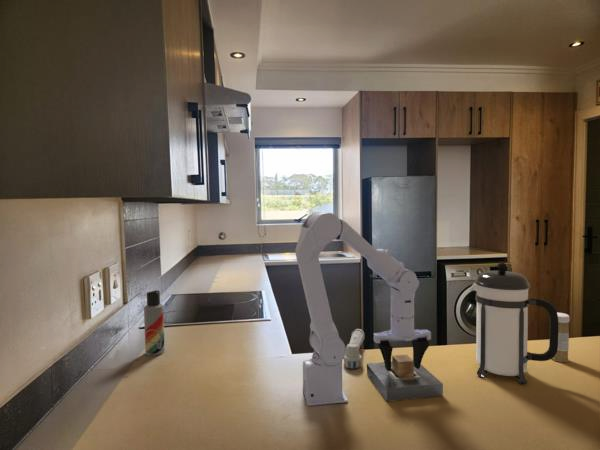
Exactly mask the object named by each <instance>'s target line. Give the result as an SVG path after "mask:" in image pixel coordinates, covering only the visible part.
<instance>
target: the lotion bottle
mask: <svg viewBox="0 0 600 450" xmlns="http://www.w3.org/2000/svg"><path fill="white" fill-rule="evenodd" d="M160 293H161V292H160V290H158V289H156V290H151V291H147V292H146V305H144V307H143V318H144V320H143V321H144V348H145V350H144V351H145V355H146V356H148V357H152V356H158V355H162V354H164V353H165V350H166V349H165V321H164V320H165V319H164V304H163V303H161V297H160V295H161V294H160Z"/></svg>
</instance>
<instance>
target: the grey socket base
mask: <svg viewBox="0 0 600 450" xmlns="http://www.w3.org/2000/svg"><path fill="white" fill-rule="evenodd" d="M366 375H367V376H368V378H369V380H370V381H371V383H372V384H375V385H374V386H375V388H376V389H377V388H378V389H377V390H378V392H379V391H380V392H381V393H380V392H379V393H380V394H381V396H382V395H383V396H382V397H383V398H384V399H386V400H385V401H386V402H393V400H397V401H404V399H407V400H414V399H413V398H417V399H424V398H423V397H427V398H434V397H435V398H437V397H443V396H444V389H443V388H444V384H443V382H442V381H441V380H439V379H438V378H437V377H436V376H435V375H434V374H433V373H431V372H430V371H429V370H428V369H427V368H425V366H423V365H422V364H421V365H420V369H417V368H416V367H415V366H414V376H411V377H400V378H397V377H396V376H395V375H394V374H393V373H392V361H391V371H387V369H386V368H385V363H384V361H383V362H373V363H372V362H371V363H370V362H369V363H366Z"/></svg>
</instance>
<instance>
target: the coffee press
mask: <svg viewBox="0 0 600 450" xmlns="http://www.w3.org/2000/svg"><path fill="white" fill-rule="evenodd" d="M496 268H497V269H498V270H486V271H483V272H481V273H479V274H478V276H477V277H476V279H475V280H474V283H473V284H472V285H471V286H470V287H469V290H470V291H475V292H476V293H475V301H476V332H475V333H476V335H475V336H476V341H475V342H476V343H475V344H476V346H475V347H476V348H475V349H476V350H475V353H476V355H475V356H476V363H477V364H478V366H479V368H478V369H477V372H476V375H477V376H479V377H480V378H485V377H486V375H488V373H491V374H495V375H498V376H505V377H514V378H515V379H516V380H517V382H518V384H519V385H520V386H522V385H526V384H528V379H527V377H526V376H525V373H526V372H527V370H528V362H529V361H536V362H547V361H549V360H552V358H553V357H554V356H555V355H556V353H557V349H558V315H557V310H556V308H555V307H554V305H553V304H551V303H550V302H549V301H547V300H544V299H541V298H530V297H529V289H530V288H531V283H530V282H529V281H528V278H527V277H526V276H524V275H522V274H521V273H518V272H516V271H515V272H514V271H508V270H506V269H507V268H508V266H507V264H506V263H505V262H499V263H497V265H496ZM530 305H531V306H536V307H542V308H544V309H545V310H546V311H547V313H548V314H549V343H548V344H549V347H548V349H547V350H546V351H545V352H544V353H536V352H529V351H528V335H529V334H528V330H529V329H528V326H529V325H528V324H529V321H528V320H529V318H528V316H529V306H530Z"/></svg>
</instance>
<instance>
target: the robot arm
mask: <svg viewBox="0 0 600 450" xmlns="http://www.w3.org/2000/svg"><path fill="white" fill-rule="evenodd" d="M300 228H301V229H300V234H299V236H298V240H297V243H296V246H295V252H294V253H295V257H296V261H297V265H298V269H299V270H298V271H299V275H300V278H301V283H302V287H303V291H304V296H305V297H304V298H305V301H306V305H307V309H308V313H309V318H310V324H309V328H310V335H309V345H310V347H311V348H312V349H313V352H312V355H311V358H309V359H307V360H304V361H302V392H303V396H304V398H305V400H306V405H307V406H309V407H310V406H311V407H312V406H320V405H321V406H322V405H328V404H329V405H331V404H339V403H340V404H342V403H347V402H349V401H348V397H347V396H346V393H345V392H344V391H343V361H344V359H343V358H344V356H345V353H346V345H345V343H344V341H343V340H342V339H341V337H340V335H339V331H338V329H337V327H336V324H335V322H334V321H333V317H332V313H331V307H330V302H329V298H328V295H327V289H326V286H325V281H324V276H323V272H322V268H321V263H320V258H319V255H320V254H321V253H322V251H323V250H324V249H325V247H326V246H328V245H329V244H330V243H332V242H333V241H334V240H336V241H342V242H344V244H346V245H348V247H350V248H352V249H353V250H354V251H355V252H356V253H358V254H360V255H361V256H362V257H363V258H364V259H366V263H367V267H368V268H370V270H371V271H373V272H374V274H376V275H378V276H379V277H380V278H382V279H383V280H384V281H385V282H386V283H385V284H386V285H387V286H388V287H390V329H389V330H385V331H381V332H373V341H374V343H375V344H377V346H378V348H379V350H380V353H381V355H382V359H383V362H384V363H385V368H386V369H387V371H391V362H392V356H393V355H392V353H393V350H394V349H393V346H392V345H391V343H390V342H401V341H402V342H403V341H405V342H410V341H411V343H412V350H413V351H412V360H413V361H414V366H415V367H416V368H417V369H420V365H422V361H423V357H424V355H425V353H426V351H427V350H428V348H429V347H430V341H429V340H432V332H431V331H430V330H428V329H415V298H416V291H417V290H418V288H419V285H420V280H418V277H417V274H416V273H415V272H414V271H413V270H410V269H407V268H405V264H404V263H403V262H402V261H398V260H397V259H396V258H395V257H393V256H392V252H391V251H390V250H389V249H384V248H375V247H374V246H372V245H371V244H370V243H369V242H368V241H367V240H366V239H365V238H364V237H363V236H362V235H361V234H359V232H357V231H356V230H355V229H354V228H353V227H352V226H350V225H349V223H348V222H347V221H345V220H344V219H341V218H339V217H338V216H337V215H336V214H335V213H332V212H324V213H322V212H313V213H311V214H310V215H308V216H307V217H306V219H305V220H304V221H303V222H302V223H301V227H300Z"/></svg>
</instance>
